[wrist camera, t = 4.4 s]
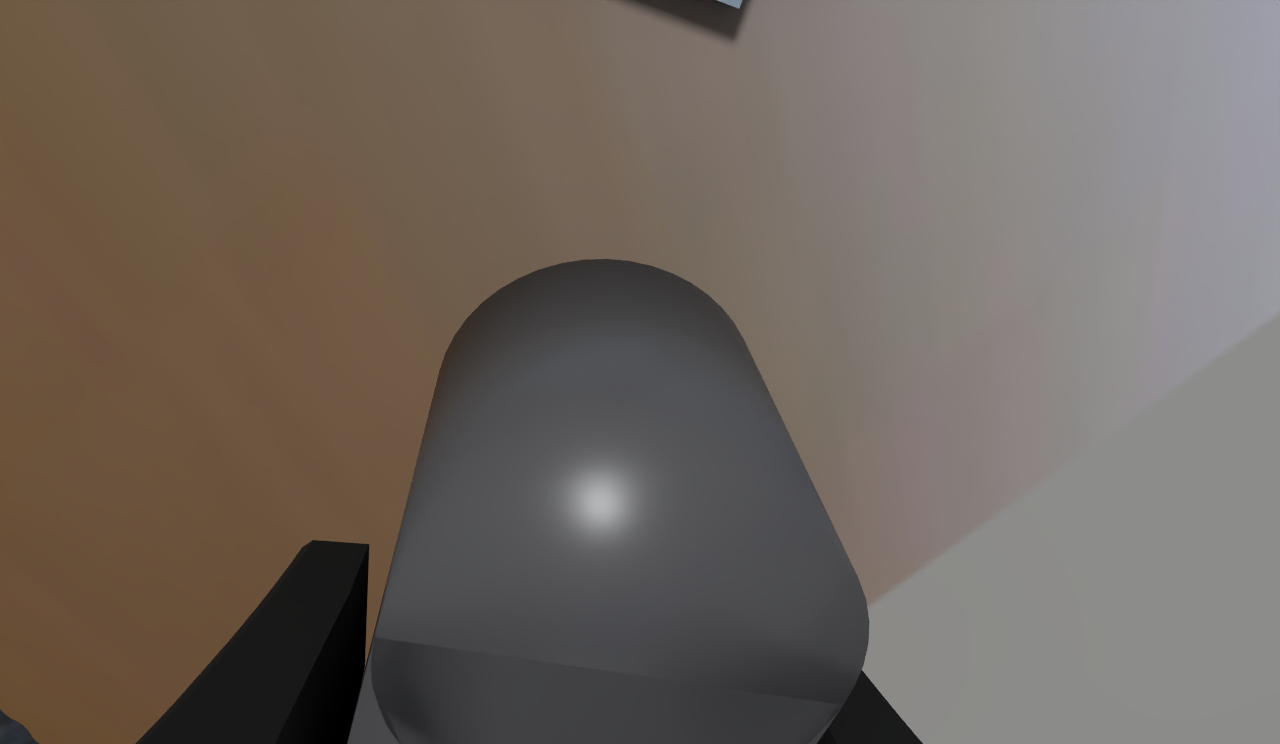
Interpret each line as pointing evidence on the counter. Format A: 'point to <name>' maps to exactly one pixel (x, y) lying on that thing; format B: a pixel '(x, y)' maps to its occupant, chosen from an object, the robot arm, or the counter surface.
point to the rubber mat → (732, 2)
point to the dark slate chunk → (13, 732)
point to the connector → (609, 536)
